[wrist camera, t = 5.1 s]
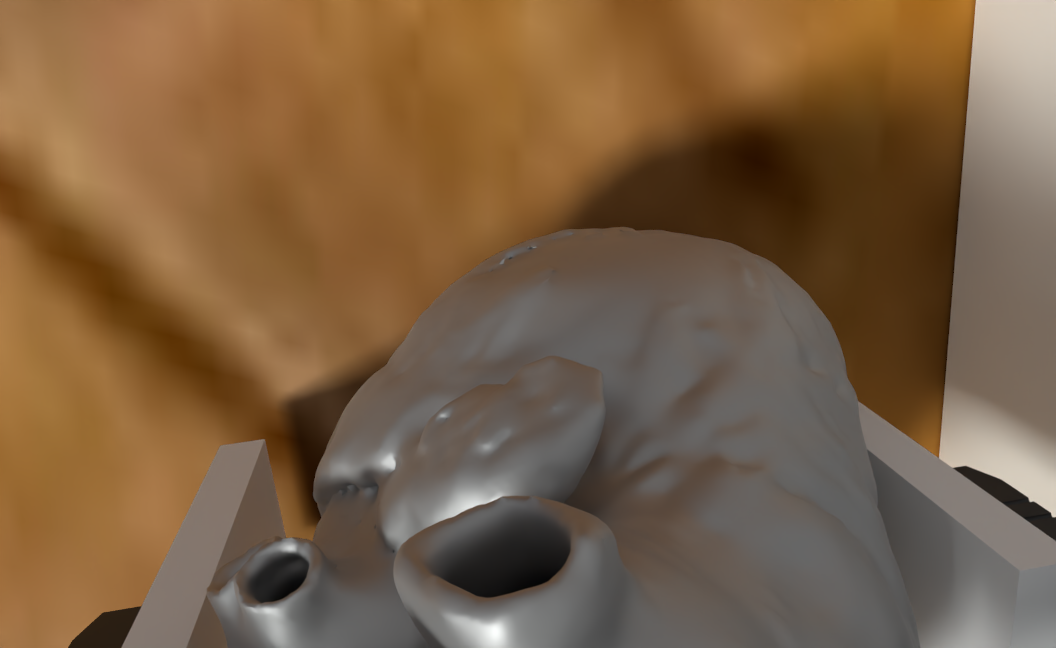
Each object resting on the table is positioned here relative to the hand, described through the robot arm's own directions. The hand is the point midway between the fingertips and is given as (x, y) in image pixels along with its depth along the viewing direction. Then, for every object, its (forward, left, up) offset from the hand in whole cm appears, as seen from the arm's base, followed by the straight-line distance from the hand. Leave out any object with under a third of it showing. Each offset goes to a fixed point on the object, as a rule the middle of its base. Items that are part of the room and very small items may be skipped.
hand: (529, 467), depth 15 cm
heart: (+1, 0, -1) cm, 1 cm away
